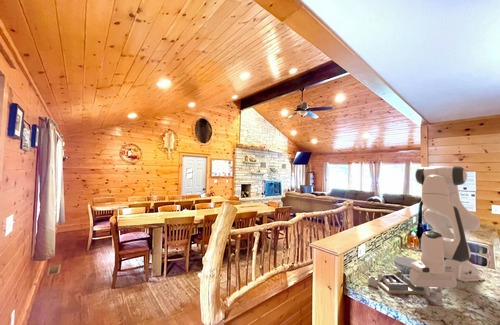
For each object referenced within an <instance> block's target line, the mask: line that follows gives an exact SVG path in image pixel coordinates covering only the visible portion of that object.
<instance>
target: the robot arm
mask: <svg viewBox="0 0 500 325" xmlns="http://www.w3.org/2000/svg"><path fill="white" fill-rule="evenodd" d="M414 176H415V179H416V180H415V181H416V182H417V183H418V184H420V185H421V186H422V188H421V189H422V190H421V200H422V204H423V206H424V207H425V208H426V209H425V210H424V212H423V219H424V220H425V222H426V223H427V224H429V226H431V227H432V229H433V230H434V231H433V230H432V231H431V230H427V231H423V232H422V235H421V237H420V238H419V250H420V251H421V256H420V259H419V260H418V259H417V260H418V261H415V262H412V263H411V267H412V268H411V269H410V276H409V279H410V282H411V283H412V284H413V285H414V286H416V287H424V289H425V290H426V295H428V296H432V295H431V294H432V292H430V291H429V290H428V289H429V287H435V288H436V289H438V290H439V291H441V292H442V293H443V290H444V288H454V289H455V288H456V287H457V285H458V282H457V280H458V281H461V282H464V283H465V282H466V283H470V282H478V281H479V280H480V281H485V277H484V276H482V275H481V274H480V273H479V270H478V267H477V266H476V265H474V264H473V263H472V262H471V261H469V260H470V258H471V256H472V254H471V249H470V246H469V244H468V241H467V240H466V233H465V231H467V232H468V231H469V232H475V231H477V230H478V229H479V228H480V226H481V220H480V218H479V217H478V216H477V215H476V214H475V213H473V212H471V211H470V210H468V209H467V208H466V207H465V206H464V205H463V203H462V201H461V198H460V194H459V192H460V191H459V188H458V186H461V185H463V184H465V183H466V181H467V179H468V174H467V172H466V169H465V168H464V167H463V166H458V165H454V166H450V165H437V166H428V167H427V166H424V167H418V169H416V171H415V175H414ZM451 229H452V231H453V232H452V231H451ZM469 281H470V282H469Z"/></svg>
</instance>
